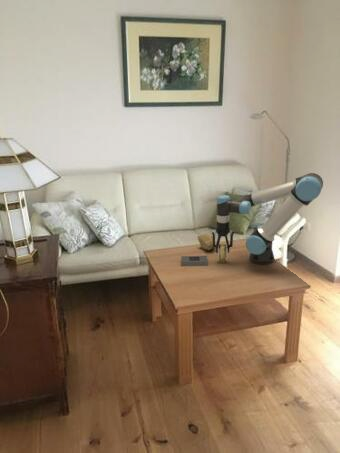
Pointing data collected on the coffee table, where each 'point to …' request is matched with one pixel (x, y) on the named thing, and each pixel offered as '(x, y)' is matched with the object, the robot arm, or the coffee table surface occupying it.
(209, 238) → the faceted tan rock
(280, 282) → the coffee table surface
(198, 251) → the coffee table surface
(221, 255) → the gold peg
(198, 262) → the metal plate with hole
